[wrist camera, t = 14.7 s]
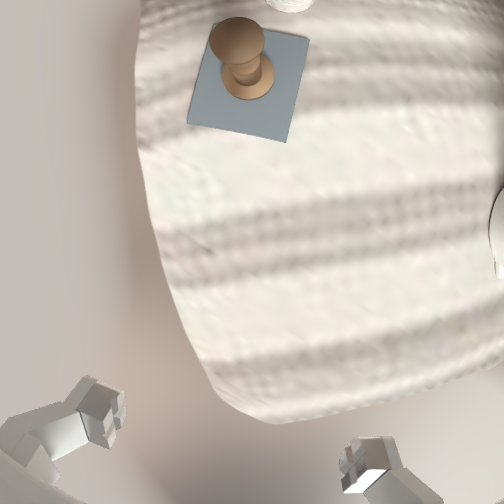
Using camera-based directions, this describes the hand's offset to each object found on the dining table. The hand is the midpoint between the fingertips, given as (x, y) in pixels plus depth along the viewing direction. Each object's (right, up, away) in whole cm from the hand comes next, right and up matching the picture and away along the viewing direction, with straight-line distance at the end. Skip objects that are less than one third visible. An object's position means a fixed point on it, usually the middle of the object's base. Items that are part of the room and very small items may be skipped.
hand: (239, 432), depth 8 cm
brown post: (0, +26, +21) cm, 34 cm away
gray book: (0, +27, +22) cm, 35 cm away
